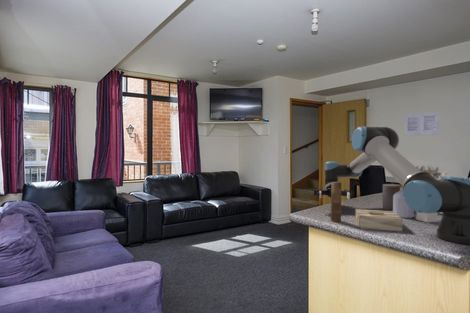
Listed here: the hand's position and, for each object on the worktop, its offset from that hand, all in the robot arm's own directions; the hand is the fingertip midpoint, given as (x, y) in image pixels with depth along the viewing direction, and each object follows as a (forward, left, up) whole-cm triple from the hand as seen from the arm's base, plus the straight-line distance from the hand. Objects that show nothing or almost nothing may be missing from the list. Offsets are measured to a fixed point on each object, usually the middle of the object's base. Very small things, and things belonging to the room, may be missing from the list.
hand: (334, 196), depth 151 cm
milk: (-12, -40, -10) cm, 43 cm away
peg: (-9, +3, -10) cm, 14 cm away
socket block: (-18, -12, -10) cm, 24 cm away
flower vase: (+7, -54, -10) cm, 55 cm away
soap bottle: (-2, -35, -10) cm, 36 cm away
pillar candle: (+15, -40, -10) cm, 44 cm away
